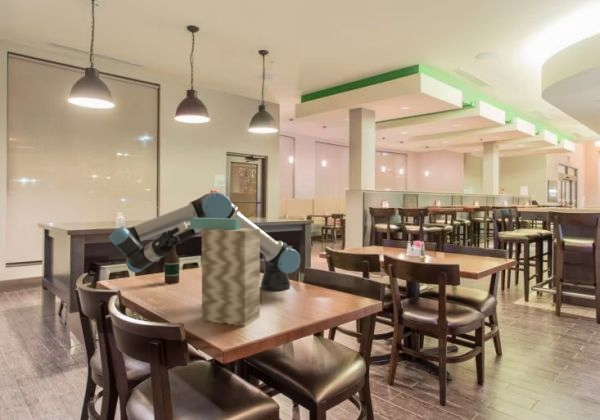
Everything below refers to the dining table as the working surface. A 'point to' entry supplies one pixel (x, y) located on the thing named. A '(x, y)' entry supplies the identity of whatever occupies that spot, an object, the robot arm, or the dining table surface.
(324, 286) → the dining table surface
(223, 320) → the tall wood-grain block
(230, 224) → the bar
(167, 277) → the beer bottle
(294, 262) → the robot arm
